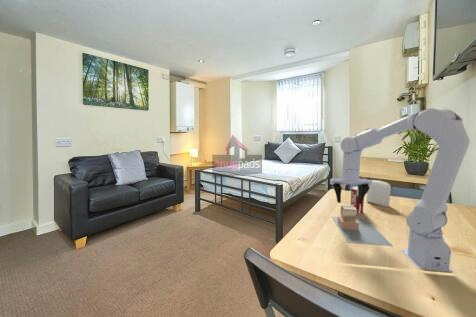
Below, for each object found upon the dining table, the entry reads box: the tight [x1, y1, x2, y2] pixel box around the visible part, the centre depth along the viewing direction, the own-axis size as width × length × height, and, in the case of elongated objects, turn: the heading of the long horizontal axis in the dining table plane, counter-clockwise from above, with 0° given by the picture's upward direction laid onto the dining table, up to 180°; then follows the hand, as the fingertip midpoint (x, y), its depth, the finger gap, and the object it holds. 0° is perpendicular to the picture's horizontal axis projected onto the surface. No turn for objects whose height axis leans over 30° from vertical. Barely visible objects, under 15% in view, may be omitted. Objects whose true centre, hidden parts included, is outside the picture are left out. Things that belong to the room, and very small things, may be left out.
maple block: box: [339, 204, 358, 222], centre depth 83 cm, size 4×4×5 cm
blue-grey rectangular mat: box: [331, 216, 393, 247], centre depth 81 cm, size 22×14×1 cm, turn 169°
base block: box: [337, 215, 359, 230], centre depth 83 cm, size 6×6×3 cm
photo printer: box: [366, 179, 392, 208], centre depth 109 cm, size 10×4×12 cm, turn 28°
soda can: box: [350, 186, 365, 214], centre depth 98 cm, size 5×5×12 cm
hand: (349, 202), depth 82 cm, fingers open, 7 cm apart
